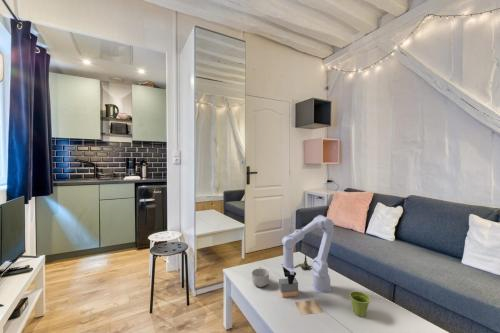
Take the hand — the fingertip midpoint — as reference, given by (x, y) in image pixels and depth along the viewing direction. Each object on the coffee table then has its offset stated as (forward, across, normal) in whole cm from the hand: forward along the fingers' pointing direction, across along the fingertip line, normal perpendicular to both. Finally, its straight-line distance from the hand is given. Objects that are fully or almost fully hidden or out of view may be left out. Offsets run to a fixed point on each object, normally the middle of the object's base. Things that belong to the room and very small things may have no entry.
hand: (288, 280), depth 132 cm
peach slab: (+8, 0, 0) cm, 8 cm away
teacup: (+8, -14, -14) cm, 22 cm away
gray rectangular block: (+5, 0, 0) cm, 5 cm away
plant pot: (+9, +21, +31) cm, 38 cm away
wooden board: (+8, +13, +7) cm, 17 cm away
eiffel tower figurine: (+9, -27, +21) cm, 35 cm away
